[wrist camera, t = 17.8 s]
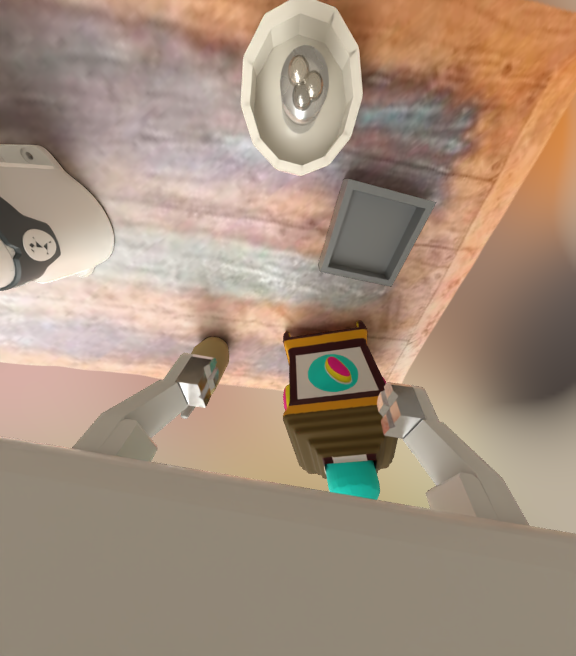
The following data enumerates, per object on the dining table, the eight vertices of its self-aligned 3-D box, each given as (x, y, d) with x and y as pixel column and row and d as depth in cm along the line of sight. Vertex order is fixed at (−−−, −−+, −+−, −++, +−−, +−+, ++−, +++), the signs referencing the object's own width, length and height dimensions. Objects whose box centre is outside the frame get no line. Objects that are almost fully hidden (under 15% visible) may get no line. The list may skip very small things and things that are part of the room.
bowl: (243, 161, 30) (237, 158, 26) (254, 9, 22) (247, -26, 19) (331, 184, 31) (337, 185, 27) (368, 49, 24) (383, 24, 20)
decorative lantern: (291, 385, 57) (294, 539, 33) (276, 327, 46) (261, 493, 21) (366, 376, 55) (429, 533, 30) (369, 312, 44) (471, 479, 19)
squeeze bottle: (236, 338, 48) (213, 408, 33) (228, 362, 52) (205, 433, 37) (200, 327, 46) (159, 396, 31) (195, 353, 50) (157, 424, 36)
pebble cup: (279, 128, 27) (275, 107, 20) (286, 76, 24) (285, 31, 17) (312, 137, 27) (321, 121, 20) (323, 88, 25) (337, 49, 18)
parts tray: (317, 264, 38) (320, 271, 35) (343, 179, 31) (348, 178, 28) (383, 279, 40) (391, 286, 37) (423, 200, 32) (436, 202, 29)
